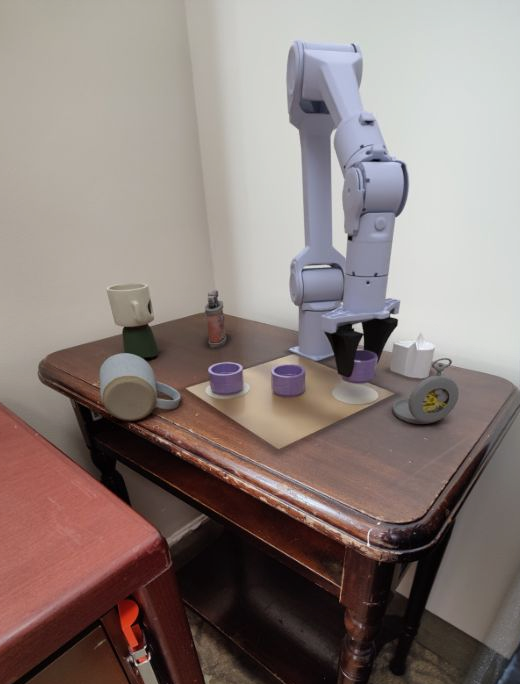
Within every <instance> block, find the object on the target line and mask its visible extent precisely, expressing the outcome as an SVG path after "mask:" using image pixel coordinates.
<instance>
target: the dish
mask: <svg viewBox="0 0 520 684" xmlns="http://www.w3.org/2000/svg"><path fill="white" fill-rule="evenodd" d="M243 370H244V367H243V365H242V364H240V363H237V362H232V361H224V362H218V363H214V364H212V365H210V366H209V367H208V369H207V374H208V381H209V383H210V388H211V390H212V391H213V392H214V393H215V394H218V395H233V394H237V393H239V392H240V391H242V389H243V387H244V377H243Z"/></svg>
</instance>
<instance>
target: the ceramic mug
mask: <svg viewBox="0 0 520 684" xmlns="http://www.w3.org/2000/svg"><path fill="white" fill-rule="evenodd" d="M98 376H99V390H100V391H99V393H100V400H101V402H102V405H103V407H104V409H105V410H106V411H107V412H108V413H109V415H111V416H112V417H114V418H116V419H118V420H121V421H125V422H134V421H139V420H140V421H141V420H142V419H144V418H146V417H147V416H149V415H150V414H151V413H152V412H153V411H154V409H156V408H157V409H160V410H166V411H167V410H175V409H177V408H178V407H179V405H180V401H181V394H180V392H179V391H178V390H176V389H175V388H174V387H172V386H170V385H167V384H166V383H163V382H161V381H158V380H157V381H156V377H155V373H154V369H153V368H152V367H151V365H150V363H148V362H147V360H146V359H143V358H141V357H139V356H136V355H133V354H129V353H125V352H123V353H122V352H121V353H117V354H114V355H111V356H110V357H108V358H106V359H105V360H104V362H103V363H102V364H101V366H100V369H99V375H98ZM158 393H160V394H163V395H164V396H168V397H169V398H171V400H170V399H164V398H158Z"/></svg>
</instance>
